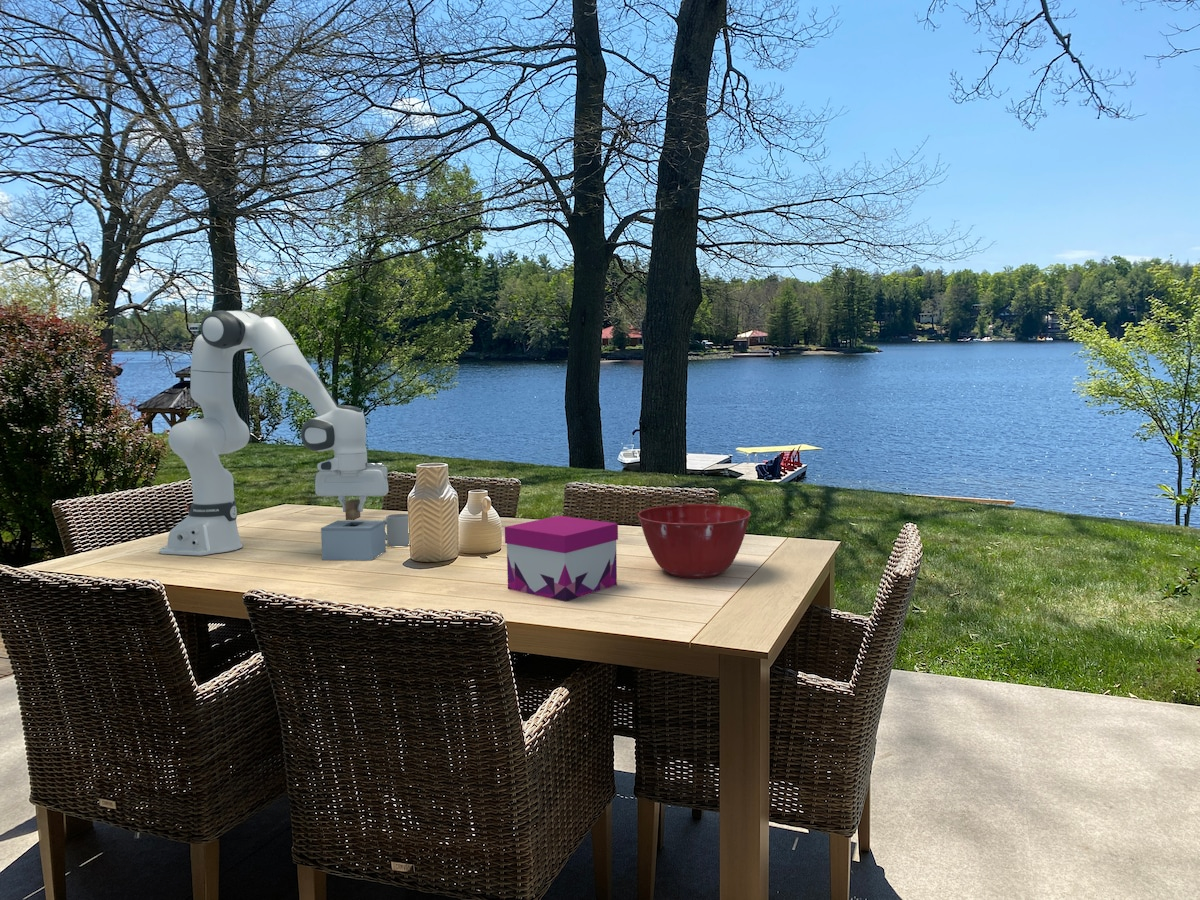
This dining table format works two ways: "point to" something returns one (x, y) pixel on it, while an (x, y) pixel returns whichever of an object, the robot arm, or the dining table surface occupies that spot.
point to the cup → (397, 530)
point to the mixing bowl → (694, 537)
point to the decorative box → (561, 557)
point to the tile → (352, 509)
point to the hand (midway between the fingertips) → (352, 511)
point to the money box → (353, 540)
